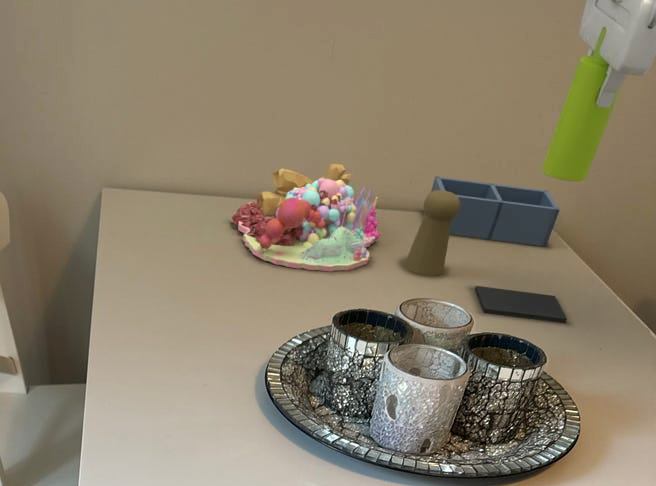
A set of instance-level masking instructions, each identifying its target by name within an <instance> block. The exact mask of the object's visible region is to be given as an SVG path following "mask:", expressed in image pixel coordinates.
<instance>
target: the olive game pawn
mask: <svg viewBox="0 0 656 486" xmlns="http://www.w3.org/2000/svg"><path fill="white" fill-rule="evenodd" d="M459 208H460V200H459V197H458V196H457V195H455V194H454V193H451V192H448V191H443V190H436V191H432V192H431V191H430V192H429V193H428V195H427V196H426V197H425V199H424V201H423V212H424V215H423V218H422V220H421V223H420V224H419V227H418V230H417V231H416V232H417V233H416V235H415V237H414V239H413V242H412V244H411V247H410V250H409V252H408V254H407V257H406V259H405V262H404V267H405V268H406V269H407V270H409V271H410V272H412V273H414V274H416V275H420V276H427V277H436V276H440V275H442V274H443V273H444V269H445V264H446V258H447V253H448V252H447V251H448V247H449V240H450V229H451V223H452V219H453V218H454V217H455V216H456V215H457V213H458V211H459Z"/></svg>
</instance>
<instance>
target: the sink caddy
mask: <svg viewBox="0 0 656 486" xmlns="http://www.w3.org/2000/svg"><path fill="white" fill-rule="evenodd" d="M436 190H443V191H448V192H451V193H454V194H455V195H457V196H458V197H459V200H460V208H459V211H458V213H457V215H456V216H455V217H454V218H453V219H452V223H451V229H450V235H451V236H460V237H467V238H474V239H475V238H476V239H483V240H490V241H497V242H506V243H513V244H514V243H515V244H522V245H529V246H537V247H546V248H547V245H548V242H549V240H550V237H551V235H552V232H553V229H554V226H555V224H556V221H557V218H558V216H559V213H560V211H561V210H560V207H559V206H558V204H557V202H556V201H555V200H554V198H553V197H552V195H551V194H550V192H549V191H548V190H545V189H537V188H529V187H521V186H514V185H513V186H512V185H507V184H506V185H505V184H498V183H492V182H491V183H490V182H484V181H483V182H482V181H476V180H475V181H474V180H466V179H461V178H460V179H459V178H451V177H443V176H438V175H437V176H434V180H433V184H432V187H431V190H430V192H432V191H436ZM450 235H449V236H450Z"/></svg>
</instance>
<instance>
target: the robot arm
mask: <svg viewBox="0 0 656 486" xmlns="http://www.w3.org/2000/svg"><path fill="white" fill-rule="evenodd" d="M603 27H605V28H606V29H607V32H606V35H605V37H604V40H603V42H602V45H601V48H600V53H599V55H600V57H601V58H602V59H604V60H605V61H606V62H607V63H608V64H609V68H608V70H607V77H606V79H605V81H604V83H603V85H602V88H599V90H598V92H597V96H596V98H595V103H596V104H597V105H598V106H599V107H604V108H609V107H610V106H611V105H612V103H613V100H614V97H615V95H616V92H617V91H618V90H619V88H620V87H621V88H622V86H623V84H624V83H625V81H626V80H627V78H628V75H630V76H639V77H642V76H645V75H646V74H647V72H648V71H649V70H650V68H651V66H652V65H653V63H654V60H655V57H656V0H615V2H612V0H586V2H585V6H584V9H583V12H582V17H581V21H580V26H579V39H580V40H581V41H582V42H584V43H585V44H586V45H587V47H589V49H588V52H587V54H586V56H592V55H593V52H594V50H595V47H596V44H597V41H598V38H599V36H600V33H601V30H602V28H603ZM621 88H620V89H621Z"/></svg>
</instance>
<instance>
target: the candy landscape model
mask: <svg viewBox="0 0 656 486" xmlns="http://www.w3.org/2000/svg"><path fill="white" fill-rule="evenodd" d="M351 176H352V173H346V168H345V166H344V165H343V164H341V163H340V164H339V163H332V164H329V166H328V168H327V171H326V177H325V176H324V175H322V176H321V177H319V178H318V179H317V180H315V181H313V180H312V179H311V178H310V177H307V176H305V175H302V174H300V173H299V172H296V171H294V170H290V169H287V168H280V169H278V170H277V171H275V172H273V173H272V180H273V182H274V187H275V189H276V190H275V192H271V191H268V190H267V191H261V193H260V195H258V197H256V202H255V201H249V202H248V204H247V203H244V204H243V205H241V206H240V207H239V208H238V209H237V211H236V213H235V214H234V215H233V216H232V217H231V219H232V222H233V223H234V224H233V225H237V230H238V231H239V232H241V233H243V237H242V241H243V242H244V246H245V247H247V248H248V249H249V251H250V252H251V254H252V255H253V256H256V257H257V258H259V259H261V260H262V261H265V262H269V263H272V264H274V265H276V266H277V265H278V266H284V267H287V268H293V269H305V270H307V271H321V272H322V271H323V272H333V271H338V272H339V271H349V270H353V269H356V268H359V267H361V266H365V265H367V264H368V262H369V260H370V257H371V256H370V251H368V250H367V248H368V247H370V246H371V245H372V244H374V243H375V241H377V240H379V238H380V233H379V232H378V231H377V227H378V226H379V222H378V220H377V215H376V214H377V211H375V210H376V208H377V207H376V206H377V205H378V199H379V197H378V196H375V199H374V201H370V199H371V197H372V194H373V188H372V187H370V189H369V191H368V194H367V196H366V198H365V197H364V194H365V191H366V185H364V186H363V188H362V190H361V192H360V193H358V196H357V198H356V200H355V198H354V197H355V191H354V189H353V187H352V186H351V185H349V183H350V180H351ZM364 198H365V199H364Z"/></svg>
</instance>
